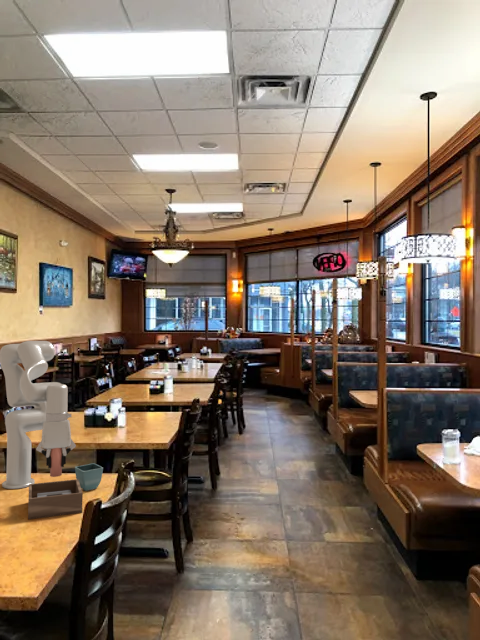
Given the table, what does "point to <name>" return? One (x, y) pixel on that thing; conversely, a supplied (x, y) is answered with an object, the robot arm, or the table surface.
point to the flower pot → (89, 476)
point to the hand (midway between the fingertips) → (56, 466)
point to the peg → (56, 462)
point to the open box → (54, 499)
